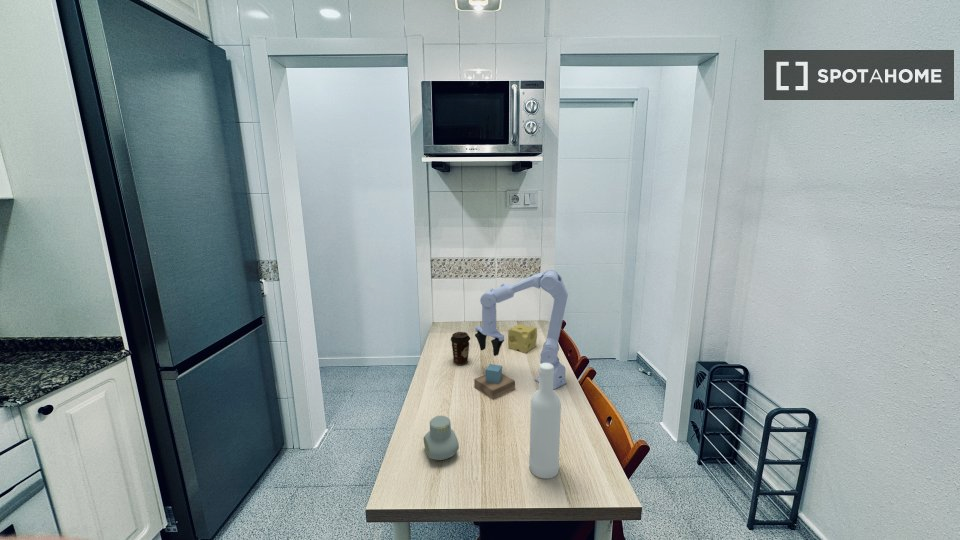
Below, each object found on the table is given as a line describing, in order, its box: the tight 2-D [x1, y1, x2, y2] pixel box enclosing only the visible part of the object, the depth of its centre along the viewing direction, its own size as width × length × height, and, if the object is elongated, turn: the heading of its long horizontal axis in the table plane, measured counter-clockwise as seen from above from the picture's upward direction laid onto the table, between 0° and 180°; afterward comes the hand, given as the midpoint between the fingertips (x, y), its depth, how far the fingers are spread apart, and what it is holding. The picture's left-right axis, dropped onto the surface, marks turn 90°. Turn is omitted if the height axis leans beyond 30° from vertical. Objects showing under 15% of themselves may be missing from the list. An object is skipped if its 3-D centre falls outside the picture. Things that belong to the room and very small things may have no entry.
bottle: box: [528, 363, 562, 480], centre depth 95 cm, size 8×8×30 cm
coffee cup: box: [450, 331, 471, 366], centre depth 159 cm, size 9×8×13 cm
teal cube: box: [485, 363, 503, 384], centre depth 137 cm, size 5×5×5 cm
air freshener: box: [423, 415, 460, 461], centre depth 103 cm, size 11×8×10 cm
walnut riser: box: [473, 373, 516, 400], centre depth 138 cm, size 11×11×4 cm
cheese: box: [507, 323, 538, 354], centre depth 175 cm, size 10×11×10 cm
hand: (489, 352), depth 148 cm, fingers open, 7 cm apart
